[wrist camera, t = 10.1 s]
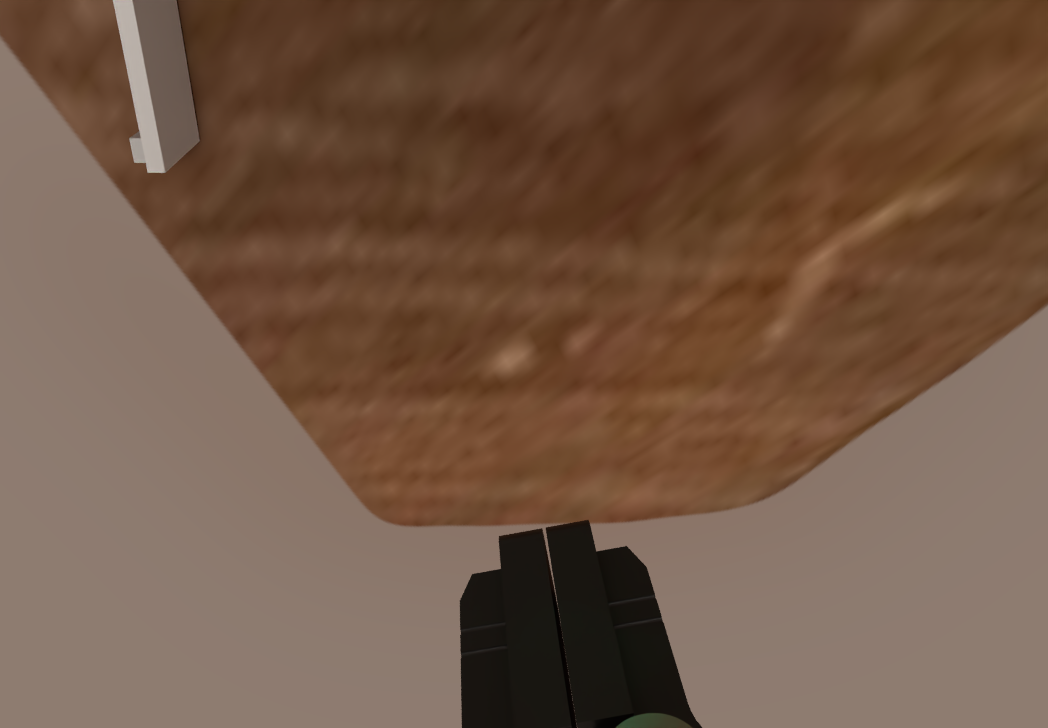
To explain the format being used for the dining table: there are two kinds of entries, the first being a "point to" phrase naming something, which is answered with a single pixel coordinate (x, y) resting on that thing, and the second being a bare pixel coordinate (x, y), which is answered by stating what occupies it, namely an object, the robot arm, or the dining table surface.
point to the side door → (157, 82)
